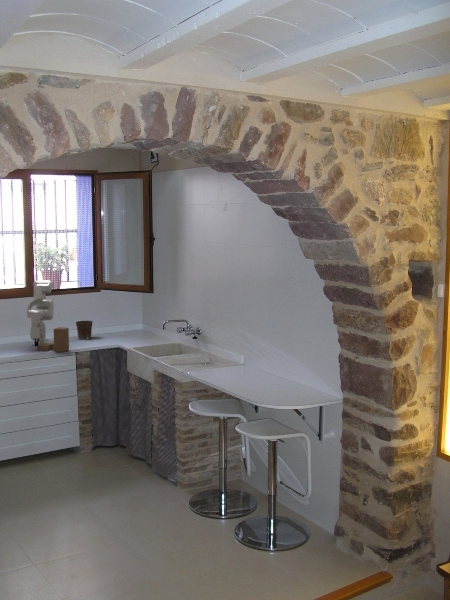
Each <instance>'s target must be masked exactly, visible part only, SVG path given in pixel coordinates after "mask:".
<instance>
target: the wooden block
mask: <svg viewBox="0 0 450 600" xmlns="http://www.w3.org/2000/svg"><path fill="white" fill-rule="evenodd" d="M69 331H70V329H69V327H66V326H65V327H63V326H61V327H60V326H59V327H56V328H53V344H54V349H53V351H54V352H55V353H65V352H68V351H69V350H70V337H69V335H70V334H69V333H70V332H69Z"/></svg>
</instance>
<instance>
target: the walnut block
mask: <svg viewBox="0 0 450 600" xmlns="http://www.w3.org/2000/svg"><path fill="white" fill-rule="evenodd" d="M37 351H38V352H42V351H43V352H51V351H54V343H48V342H46V343H43V344H40V345H38V346H37Z"/></svg>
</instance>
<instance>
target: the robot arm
mask: <svg viewBox="0 0 450 600" xmlns="http://www.w3.org/2000/svg"><path fill="white" fill-rule="evenodd" d="M32 285H33V297H32V300H31V301H30V302H29V303H28V305H27V307H26V317H27V318H28V319H30V322H31V324H30V325H31V327H30V330H29V331H30V333H29V334H30V335H29V337H30V339H31V340H32V341H33V346H34V347H38V345H40V344H43V343H47V342H49V338H47V337H46V336H47V335H46V334H47V333H46V323H45V322H44V321H52V320H53V319H54V307H55V306H54V305H55V303H54V300H53V299H50V298H48V299H47V295H46V294H50V293H51V292H52V289H53V288H54V283H53V281H52V280H46V279H44V280H43V279H42V280H35V281H34V282H33V284H32ZM33 307H35V309H32V308H33Z"/></svg>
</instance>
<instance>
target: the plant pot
mask: <svg viewBox="0 0 450 600" xmlns="http://www.w3.org/2000/svg"><path fill="white" fill-rule="evenodd" d="M75 325H76V331H77V338H79V339H78V340H88V339H87V338H90V339H92V329H93V320H78V321H75Z"/></svg>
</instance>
